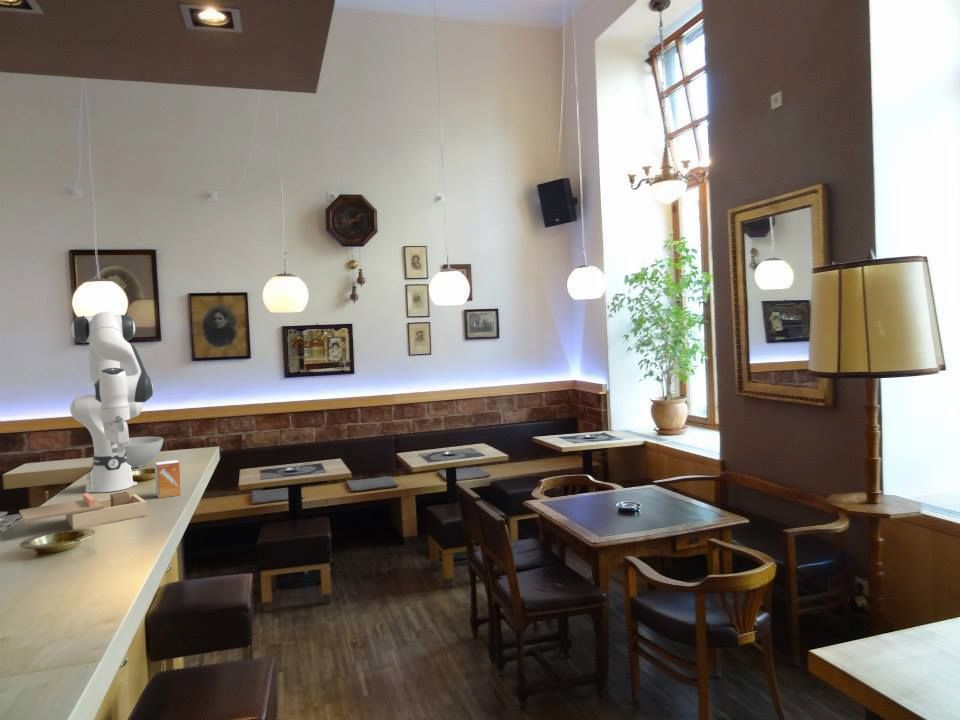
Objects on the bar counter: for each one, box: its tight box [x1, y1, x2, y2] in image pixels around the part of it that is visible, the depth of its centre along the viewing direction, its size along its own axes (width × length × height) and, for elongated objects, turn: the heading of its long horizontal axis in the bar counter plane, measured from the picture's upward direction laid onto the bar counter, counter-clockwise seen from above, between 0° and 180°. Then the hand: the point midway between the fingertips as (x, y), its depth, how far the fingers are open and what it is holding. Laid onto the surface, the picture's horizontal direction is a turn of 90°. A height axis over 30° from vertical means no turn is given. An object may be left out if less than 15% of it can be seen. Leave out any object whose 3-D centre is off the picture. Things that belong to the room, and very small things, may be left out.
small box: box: [154, 459, 182, 499], centre depth 262 cm, size 8×6×13 cm
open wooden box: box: [65, 493, 148, 530], centre depth 232 cm, size 15×22×5 cm
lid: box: [18, 492, 104, 523], centre depth 223 cm, size 15×22×3 cm
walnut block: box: [109, 491, 130, 507], centre depth 235 cm, size 5×5×7 cm
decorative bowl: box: [125, 436, 164, 469], centre depth 323 cm, size 27×27×12 cm
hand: (117, 454), depth 234 cm, fingers open, 8 cm apart
